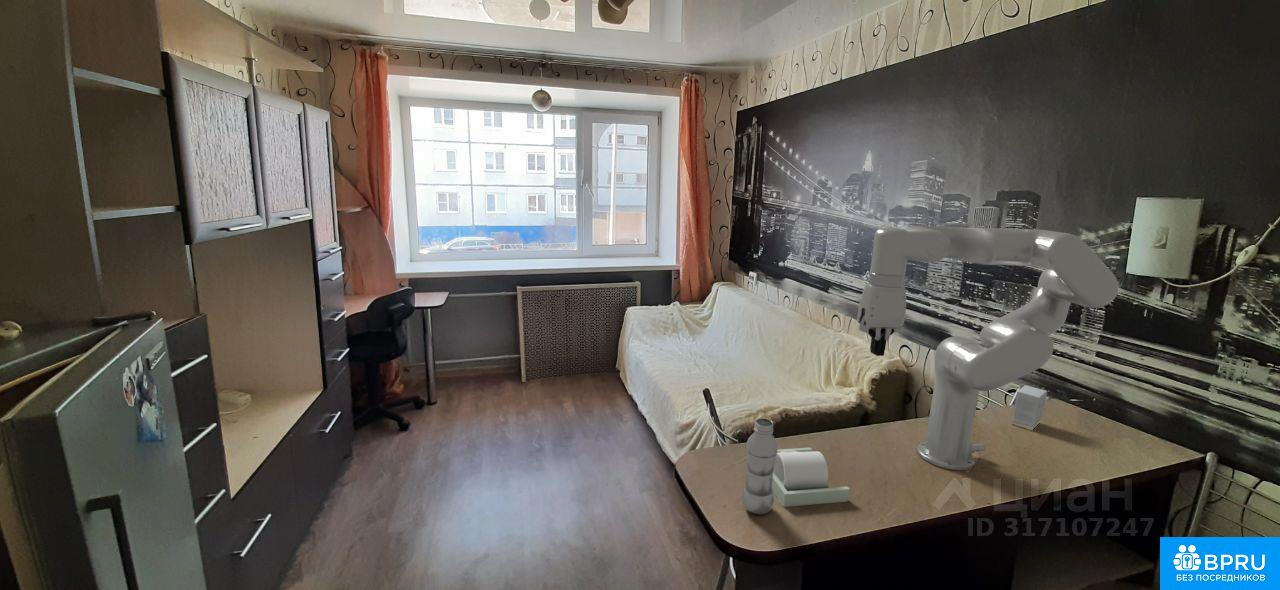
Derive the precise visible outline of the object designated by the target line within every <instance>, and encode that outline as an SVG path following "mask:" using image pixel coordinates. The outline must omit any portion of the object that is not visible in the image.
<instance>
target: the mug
mask: <svg viewBox="0 0 1280 590" xmlns="http://www.w3.org/2000/svg"><path fill="white" fill-rule="evenodd" d="M773 473H774V474H775V475H776V477H777V478H778V479H779V481H780V482H781V483H782V485H783V486H784V487H785V489H786V490H787V491H795V490H809V489H821V488H826V486H827V485H828V480H829V467H828V464H827V461H826V458H825V456H824V455H823V454H822V452H821V451H814V450H812V452H797V451H792V450H786V451H782V452H780V453H777V456H776V460H775V464H774V471H773Z"/></svg>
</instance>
